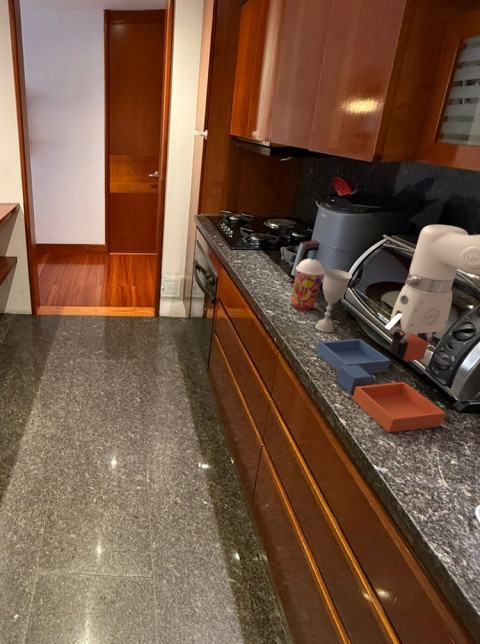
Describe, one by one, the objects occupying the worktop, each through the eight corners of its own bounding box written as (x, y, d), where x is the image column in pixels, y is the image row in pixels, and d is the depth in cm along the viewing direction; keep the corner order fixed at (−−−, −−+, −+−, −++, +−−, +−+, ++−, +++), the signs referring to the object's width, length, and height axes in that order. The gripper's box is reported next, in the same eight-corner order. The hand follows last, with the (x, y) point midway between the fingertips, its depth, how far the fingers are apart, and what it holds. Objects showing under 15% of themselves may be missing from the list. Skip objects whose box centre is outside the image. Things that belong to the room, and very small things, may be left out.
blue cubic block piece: (353, 380, 95) (357, 364, 93) (367, 392, 91) (372, 376, 89) (336, 381, 95) (340, 366, 93) (350, 393, 91) (354, 378, 89)
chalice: (342, 334, 115) (357, 278, 108) (319, 334, 115) (333, 278, 108) (329, 322, 121) (342, 269, 115) (307, 322, 122) (319, 269, 115)
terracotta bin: (399, 393, 90) (403, 381, 89) (440, 426, 81) (446, 413, 80) (352, 399, 89) (355, 386, 88) (388, 432, 80) (393, 419, 78)
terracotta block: (405, 348, 93) (411, 332, 91) (423, 359, 89) (428, 342, 87) (389, 350, 92) (393, 334, 91) (405, 361, 88) (411, 344, 86)
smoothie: (288, 299, 136) (299, 245, 129) (315, 303, 133) (328, 249, 125) (288, 309, 129) (299, 253, 122) (316, 314, 126) (329, 257, 118)
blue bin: (356, 349, 107) (360, 338, 106) (387, 371, 98) (391, 360, 97) (316, 353, 106) (319, 342, 105) (343, 376, 97) (346, 364, 95)
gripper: (409, 292, 79) (386, 366, 86) (480, 286, 81) (453, 359, 88) (379, 278, 86) (360, 348, 93) (446, 273, 88) (423, 342, 95)
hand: (406, 353), depth 90 cm, fingers closed on terracotta block, 4 cm apart
